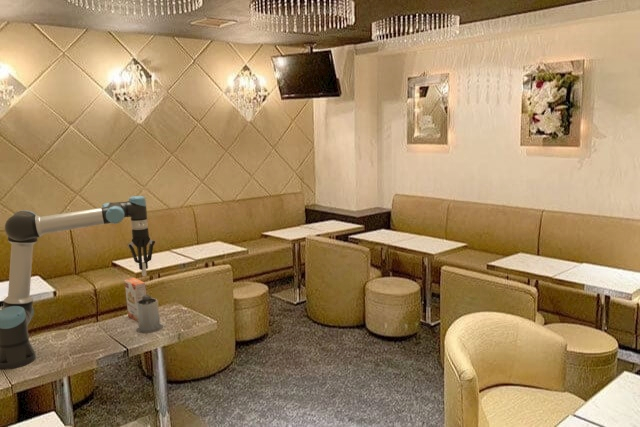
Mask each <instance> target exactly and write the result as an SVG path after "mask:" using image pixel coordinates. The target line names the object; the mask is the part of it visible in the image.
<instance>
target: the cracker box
mask: <svg viewBox="0 0 640 427" xmlns="http://www.w3.org/2000/svg"><path fill="white" fill-rule="evenodd" d="M146 286H147V285H146V282H144V281H142V280H140V279H138V278H136V277H131V278H127V279H124V289H125V297H126V298H125V299H126V308H127V316H128V317H129V319H133V320H135V321H136V322H138V316H137V305H136V303H137V301H139V300H142V297H143V296H145V295H147V288H146Z"/></svg>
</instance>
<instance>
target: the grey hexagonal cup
mask: <svg viewBox="0 0 640 427" xmlns="http://www.w3.org/2000/svg"><path fill="white" fill-rule="evenodd" d="M136 305H137V316H138V321H137V324H138V327H139V331H140V332H152V331H156V330H158V329H159V328H160V324H161V320H160V311H159V300H158V299H157V298H156V297H155V298H153V297H151V300H150V301H148V304H146V302H145V301H143V299H142V300H139V301H137V303H136Z"/></svg>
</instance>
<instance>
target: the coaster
mask: <svg viewBox="0 0 640 427" xmlns="http://www.w3.org/2000/svg"><path fill="white" fill-rule="evenodd" d="M163 328H164V325H163V324H161V323H160V328H159V329H158V330H156V331H152V332H140V331H139V326H138V327H137V328H136V330H135V332H136V333H138V334H145V335H146V334H152V333H156V332H159V331H161V330H162V329H163Z"/></svg>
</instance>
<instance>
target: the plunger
mask: <svg viewBox="0 0 640 427" xmlns="http://www.w3.org/2000/svg"><path fill="white" fill-rule="evenodd" d="M151 298H152V296H151V294H146V295H145V296H143V297H142V299H143V301H145V302H146V304H148V301H150V300H151Z"/></svg>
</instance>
